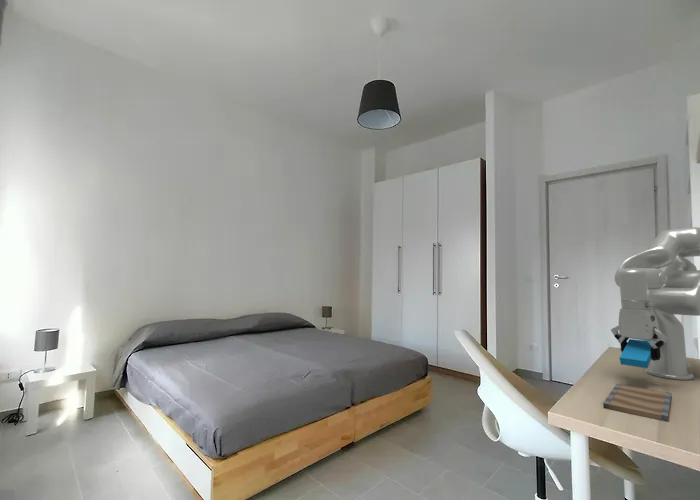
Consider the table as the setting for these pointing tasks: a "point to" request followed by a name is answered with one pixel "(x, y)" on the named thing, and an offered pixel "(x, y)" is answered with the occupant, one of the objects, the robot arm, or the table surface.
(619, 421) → the table surface
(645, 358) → the lever
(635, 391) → the ribbed board
